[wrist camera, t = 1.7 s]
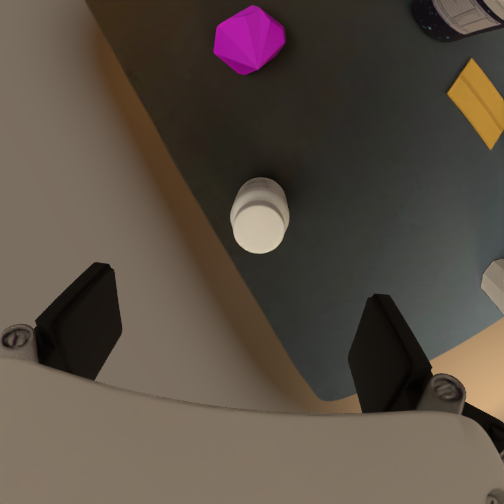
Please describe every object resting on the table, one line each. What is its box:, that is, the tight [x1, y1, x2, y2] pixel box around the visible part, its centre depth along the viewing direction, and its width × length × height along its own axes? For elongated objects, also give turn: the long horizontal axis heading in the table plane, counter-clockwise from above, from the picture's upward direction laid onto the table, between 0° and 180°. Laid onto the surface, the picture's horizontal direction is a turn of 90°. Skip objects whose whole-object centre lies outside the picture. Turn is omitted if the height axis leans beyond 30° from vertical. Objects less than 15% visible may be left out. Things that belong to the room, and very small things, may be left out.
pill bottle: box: [230, 177, 289, 253], centre depth 24 cm, size 4×4×8 cm
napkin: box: [446, 58, 504, 150], centre depth 21 cm, size 8×6×1 cm
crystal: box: [213, 5, 286, 75], centre depth 19 cm, size 5×5×5 cm
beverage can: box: [412, 0, 504, 42], centre depth 13 cm, size 6×6×12 cm
